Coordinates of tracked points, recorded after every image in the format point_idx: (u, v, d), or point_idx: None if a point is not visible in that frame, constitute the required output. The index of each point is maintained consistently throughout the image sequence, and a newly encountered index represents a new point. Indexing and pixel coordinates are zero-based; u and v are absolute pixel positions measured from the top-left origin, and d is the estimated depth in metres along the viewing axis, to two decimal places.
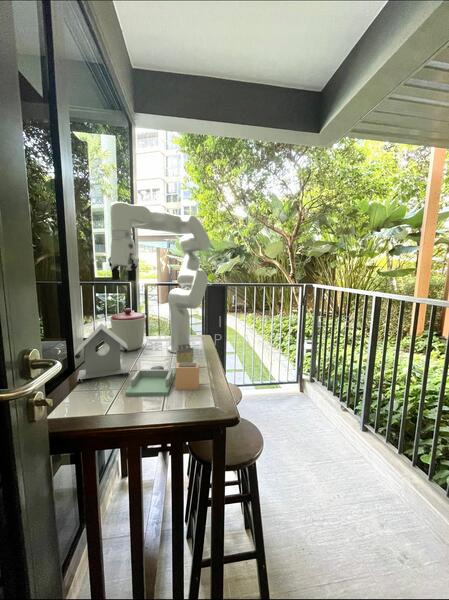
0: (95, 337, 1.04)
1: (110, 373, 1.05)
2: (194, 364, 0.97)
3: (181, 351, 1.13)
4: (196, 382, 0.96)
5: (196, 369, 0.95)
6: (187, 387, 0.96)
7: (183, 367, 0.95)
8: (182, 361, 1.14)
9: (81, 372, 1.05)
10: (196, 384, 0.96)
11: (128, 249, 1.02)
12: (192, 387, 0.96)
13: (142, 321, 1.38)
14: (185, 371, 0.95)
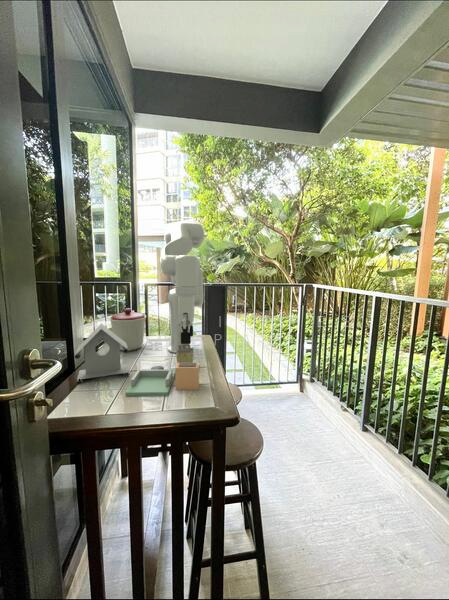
0: (95, 337, 1.04)
1: (110, 373, 1.05)
2: (194, 364, 0.97)
3: (181, 351, 1.13)
4: (196, 382, 0.96)
5: (196, 369, 0.95)
6: (187, 387, 0.96)
7: (183, 367, 0.95)
8: (182, 361, 1.14)
9: (81, 372, 1.05)
10: (196, 384, 0.96)
11: None
12: (192, 387, 0.96)
13: (142, 321, 1.38)
14: (185, 371, 0.95)
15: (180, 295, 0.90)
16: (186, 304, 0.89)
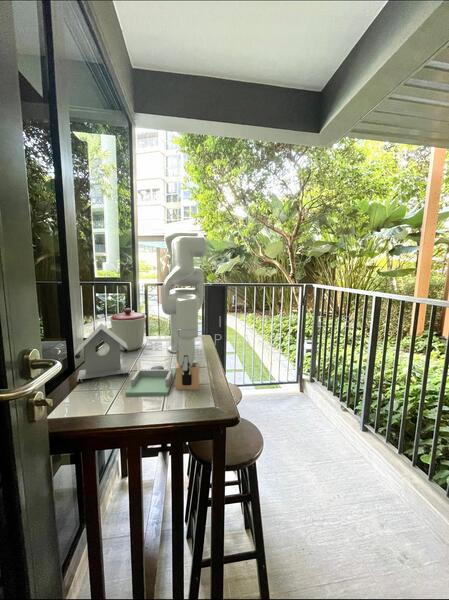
0: (95, 337, 1.04)
1: (110, 373, 1.05)
2: (194, 364, 0.97)
3: None
4: (196, 382, 0.96)
5: (196, 369, 0.95)
6: (187, 387, 0.96)
7: None
8: None
9: (81, 372, 1.05)
10: (196, 384, 0.96)
11: None
12: (192, 387, 0.96)
13: (142, 321, 1.38)
14: None
15: (181, 337, 0.92)
16: (187, 347, 0.91)
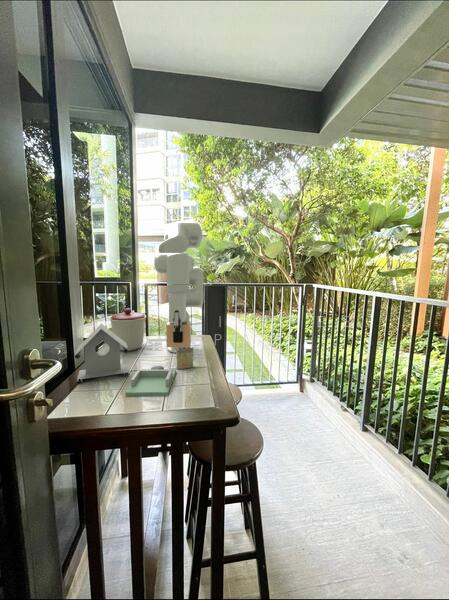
0: (95, 337, 1.04)
1: (110, 373, 1.05)
2: (186, 322, 0.95)
3: (181, 351, 1.13)
4: (188, 339, 0.94)
5: (187, 326, 0.93)
6: (178, 345, 0.94)
7: None
8: (182, 361, 1.14)
9: (81, 372, 1.05)
10: (188, 342, 0.94)
11: None
12: (183, 345, 0.94)
13: (142, 321, 1.38)
14: None
15: (171, 293, 0.91)
16: (177, 302, 0.90)
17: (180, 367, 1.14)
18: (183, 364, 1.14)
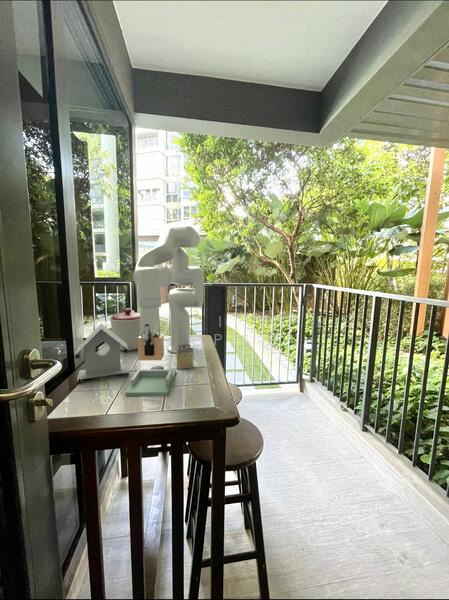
0: (95, 337, 1.04)
1: (110, 373, 1.05)
2: (157, 335, 0.97)
3: (181, 351, 1.13)
4: (159, 352, 0.95)
5: (159, 339, 0.94)
6: (150, 358, 0.95)
7: None
8: (182, 361, 1.14)
9: (81, 372, 1.05)
10: (159, 355, 0.95)
11: None
12: (155, 358, 0.95)
13: None
14: None
15: (142, 307, 0.92)
16: (148, 316, 0.91)
17: (180, 367, 1.14)
18: (183, 364, 1.14)
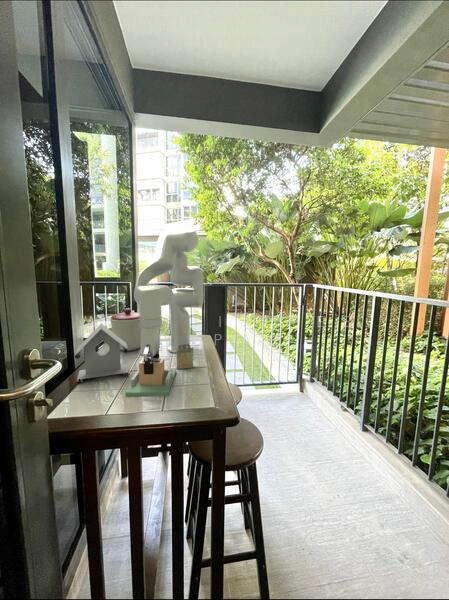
0: (95, 337, 1.04)
1: (110, 373, 1.05)
2: (158, 359, 0.98)
3: (181, 351, 1.13)
4: (160, 377, 0.96)
5: (159, 364, 0.96)
6: (151, 382, 0.96)
7: None
8: (182, 361, 1.14)
9: (81, 372, 1.05)
10: (160, 379, 0.96)
11: None
12: (156, 382, 0.96)
13: None
14: None
15: (143, 327, 0.93)
16: (148, 336, 0.92)
17: (180, 367, 1.14)
18: (183, 364, 1.14)
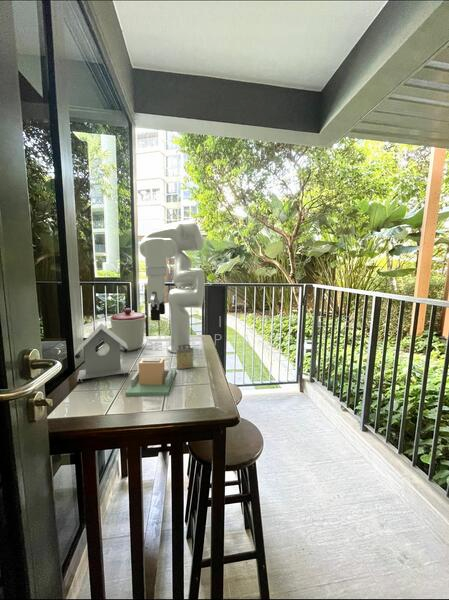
0: (95, 337, 1.04)
1: (110, 373, 1.05)
2: (158, 359, 0.98)
3: (181, 351, 1.13)
4: (160, 377, 0.96)
5: (159, 364, 0.96)
6: (151, 382, 0.96)
7: (147, 362, 0.96)
8: (182, 361, 1.14)
9: (81, 372, 1.05)
10: (160, 379, 0.96)
11: None
12: (156, 382, 0.96)
13: (142, 321, 1.38)
14: (149, 366, 0.96)
15: (149, 275, 0.97)
16: (155, 284, 0.96)
17: (180, 367, 1.14)
18: (183, 364, 1.14)
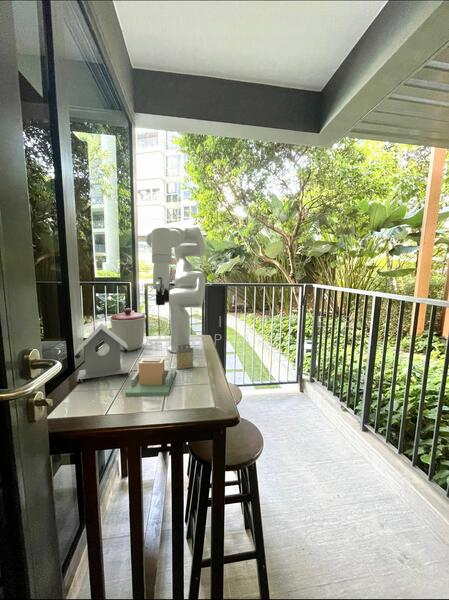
0: (95, 337, 1.04)
1: (110, 373, 1.05)
2: (158, 359, 0.98)
3: (181, 351, 1.13)
4: (160, 377, 0.96)
5: (159, 364, 0.96)
6: (151, 382, 0.96)
7: (147, 362, 0.96)
8: (182, 361, 1.14)
9: (81, 372, 1.05)
10: (160, 379, 0.96)
11: None
12: (156, 382, 0.96)
13: (142, 321, 1.38)
14: (149, 366, 0.96)
15: (155, 262, 1.03)
16: (160, 270, 1.01)
17: (180, 367, 1.14)
18: (183, 364, 1.14)
